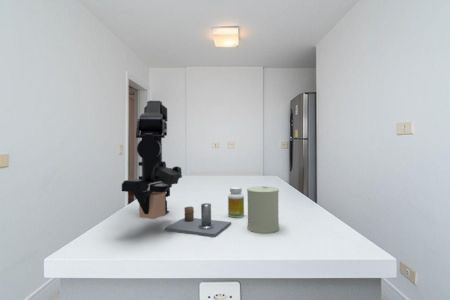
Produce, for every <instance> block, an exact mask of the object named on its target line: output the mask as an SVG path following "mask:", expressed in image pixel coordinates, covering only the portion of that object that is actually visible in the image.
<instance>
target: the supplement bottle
mask: <svg viewBox="0 0 450 300" xmlns="http://www.w3.org/2000/svg"><path fill="white" fill-rule="evenodd" d="M242 189H243V188H242V187H239V186H233V187H232V186H231V187H230V188H229V192H230V193H229V194H228V196H227V204H228V205H227V212H228V215H227V216H228V217H230V218H234V219H237V218H238V219H239V218H243V217H244V216H245V198H244V196H245V195H244V194H243V192H242V191H243V190H242Z"/></svg>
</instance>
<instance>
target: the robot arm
mask: <svg viewBox="0 0 450 300" xmlns="http://www.w3.org/2000/svg"><path fill="white" fill-rule="evenodd" d="M146 103H147V104H146V106H145V107H144V108H143V110H144V111H143V113H141V114H140V116H139V118H137V121H136V130H135V131H136V133H135V139H141V140H140V141H139V142H138V144H137V146H136V152H137V154H138V156H139V157H140V158H141V161H139V162H138V167H139V166H140V167H141V175H139V176H138V179H134V178H133V179H128V180H124V181H123V182H122V183H121V192H127V193H132V194H133V196H134V198H135V199H136V201H137V203H139V204H140V206H141V208H142V210H143V212H144V214H148V212H149V199H150V195H151V193H152V192H165V214H167V213H169V212H170V211H169V210H168V200H167V198H168V197H170V196H171V188H172V187H173V185H177V184H179V179H182V178H183V175H182V173H183V172H182V167H180V166H173V167H167V164H166V161H164V160H163V144H162V143H163V140H162V139H165V138H166V137H167V136H168V134H167V133H168V124H167V122H168V108H167V107H166V106H165V105H163V102H162V101H160V100H148V101H147V102H146ZM165 136H166V137H165ZM139 204H138V205H139Z"/></svg>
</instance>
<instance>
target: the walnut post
mask: <svg viewBox="0 0 450 300" xmlns="http://www.w3.org/2000/svg"><path fill="white" fill-rule="evenodd" d="M184 218H185V221H186V222H191V221H194V218H195V215H194V207H193V206H185V207H184Z"/></svg>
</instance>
